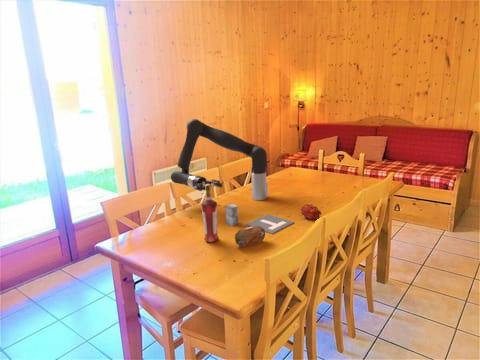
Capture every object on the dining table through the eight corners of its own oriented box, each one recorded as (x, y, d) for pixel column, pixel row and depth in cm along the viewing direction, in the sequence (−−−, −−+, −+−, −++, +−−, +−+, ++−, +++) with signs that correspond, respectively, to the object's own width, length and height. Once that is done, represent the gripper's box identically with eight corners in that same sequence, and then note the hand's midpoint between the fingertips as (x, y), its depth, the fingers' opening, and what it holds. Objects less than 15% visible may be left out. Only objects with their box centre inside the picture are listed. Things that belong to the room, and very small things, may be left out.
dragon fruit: (299, 218, 204) (319, 225, 198) (295, 214, 197) (316, 221, 191) (305, 204, 206) (325, 210, 199) (301, 199, 198) (322, 206, 192)
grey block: (232, 221, 200) (231, 203, 197) (238, 223, 196) (237, 205, 194) (226, 223, 196) (225, 206, 194) (232, 226, 193) (231, 208, 191)
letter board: (267, 215, 206) (267, 214, 206) (294, 223, 194) (294, 221, 194) (245, 225, 194) (245, 223, 194) (272, 234, 182) (272, 232, 181)
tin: (237, 249, 167) (236, 232, 165) (234, 246, 170) (233, 229, 168) (265, 241, 174) (265, 225, 172) (262, 239, 177) (261, 222, 174)
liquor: (204, 237, 181) (201, 182, 173) (219, 237, 181) (216, 182, 173) (203, 244, 174) (198, 187, 166) (218, 243, 174) (215, 187, 166)
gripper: (186, 178, 204) (205, 183, 193) (206, 173, 214) (225, 177, 203) (187, 191, 206) (206, 197, 195) (206, 185, 216) (226, 190, 205)
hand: (216, 187), depth 199 cm, fingers open, 8 cm apart
